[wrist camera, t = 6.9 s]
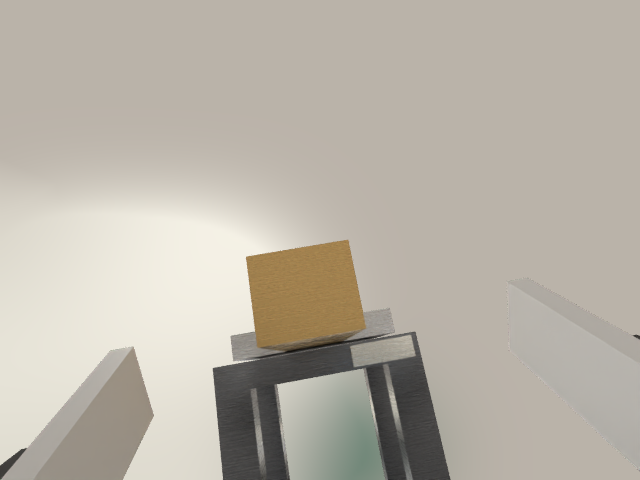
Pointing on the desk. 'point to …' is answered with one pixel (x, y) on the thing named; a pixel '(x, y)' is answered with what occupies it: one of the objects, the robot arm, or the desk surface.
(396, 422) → the rack
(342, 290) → the blanking panel
